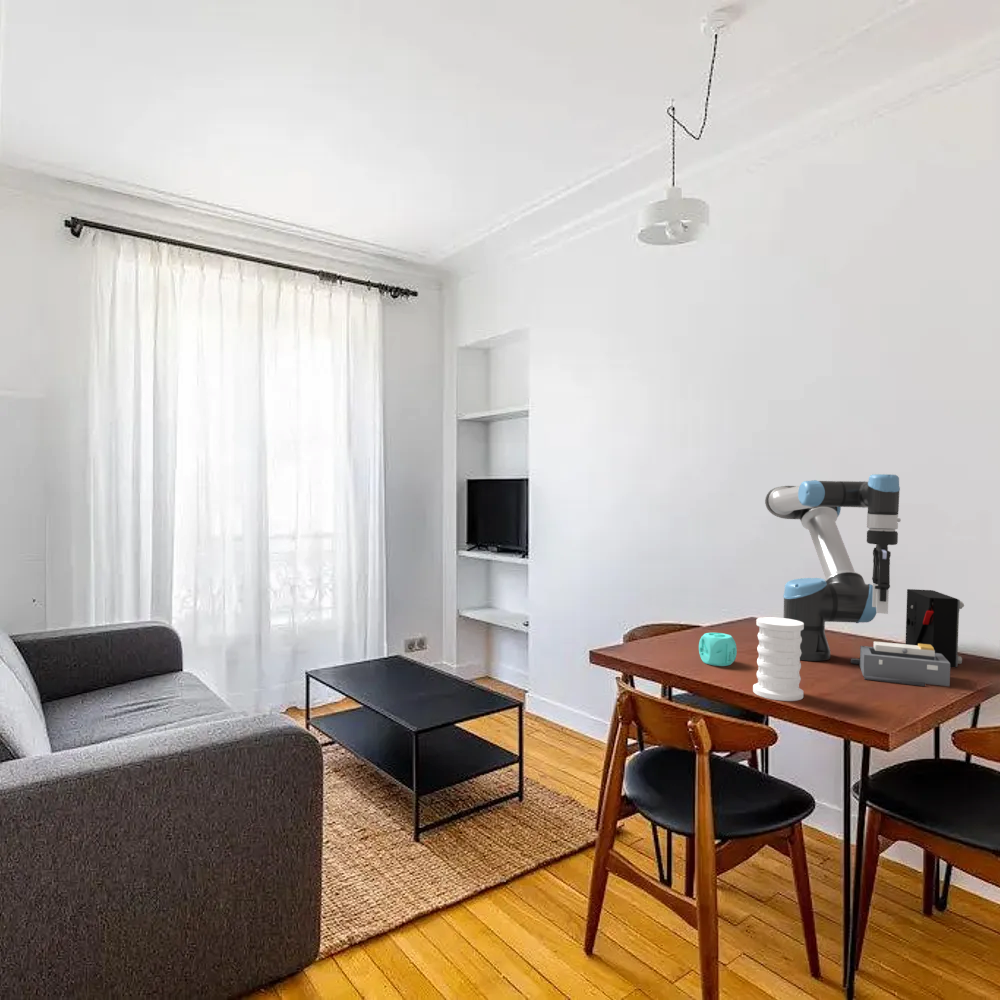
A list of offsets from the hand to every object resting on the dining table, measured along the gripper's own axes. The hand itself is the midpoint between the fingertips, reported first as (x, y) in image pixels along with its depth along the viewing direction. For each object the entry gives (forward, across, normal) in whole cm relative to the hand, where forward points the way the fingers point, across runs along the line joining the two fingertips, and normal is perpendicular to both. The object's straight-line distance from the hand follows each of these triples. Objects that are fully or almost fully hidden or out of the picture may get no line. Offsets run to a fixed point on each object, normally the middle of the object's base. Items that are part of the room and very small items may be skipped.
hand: (879, 610), depth 192 cm
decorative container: (+18, -34, +25) cm, 46 cm away
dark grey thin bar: (+18, -9, -3) cm, 20 cm away
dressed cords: (+18, +9, -6) cm, 21 cm away
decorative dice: (+18, -9, +42) cm, 47 cm away
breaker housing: (+18, 0, -6) cm, 19 cm away
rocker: (+10, 0, -6) cm, 12 cm away
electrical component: (+18, +26, -17) cm, 36 cm away
